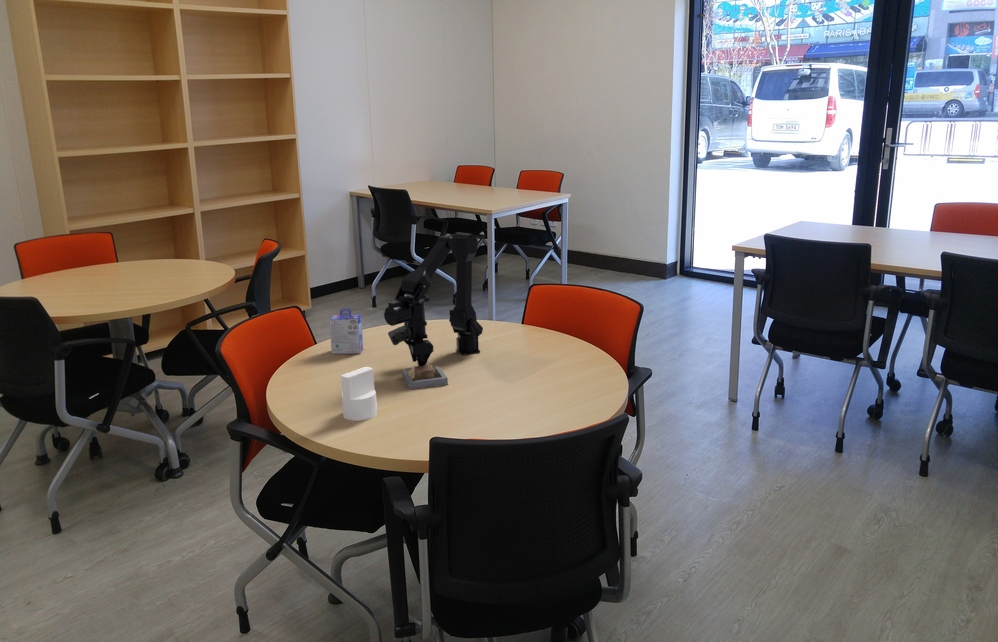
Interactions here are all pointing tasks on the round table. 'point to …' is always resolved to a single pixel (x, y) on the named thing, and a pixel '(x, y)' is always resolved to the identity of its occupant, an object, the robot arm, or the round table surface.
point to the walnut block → (423, 372)
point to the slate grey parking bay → (426, 380)
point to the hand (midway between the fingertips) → (417, 366)
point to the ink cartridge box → (346, 333)
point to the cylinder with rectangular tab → (359, 394)
